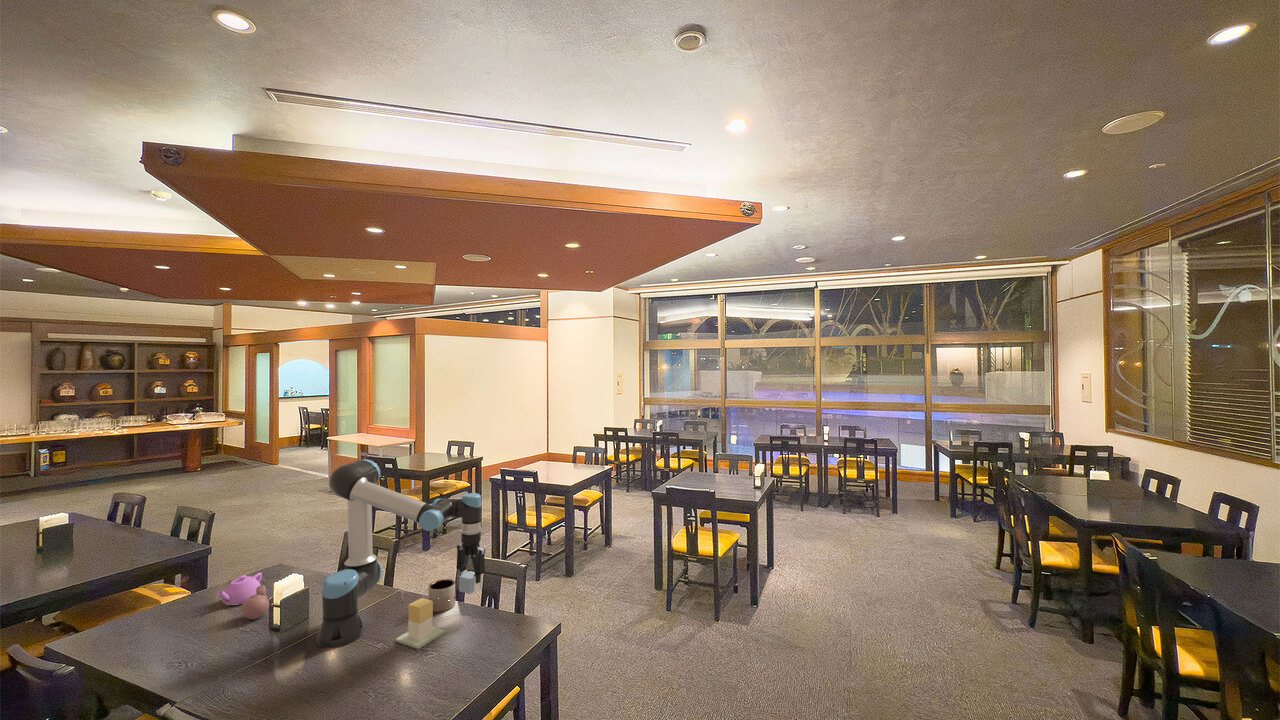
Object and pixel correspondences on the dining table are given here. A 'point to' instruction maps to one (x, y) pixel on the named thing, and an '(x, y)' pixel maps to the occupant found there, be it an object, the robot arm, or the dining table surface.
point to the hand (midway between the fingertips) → (470, 588)
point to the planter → (442, 594)
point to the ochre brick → (420, 610)
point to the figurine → (256, 604)
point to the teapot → (240, 589)
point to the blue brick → (467, 582)
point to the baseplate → (419, 642)
